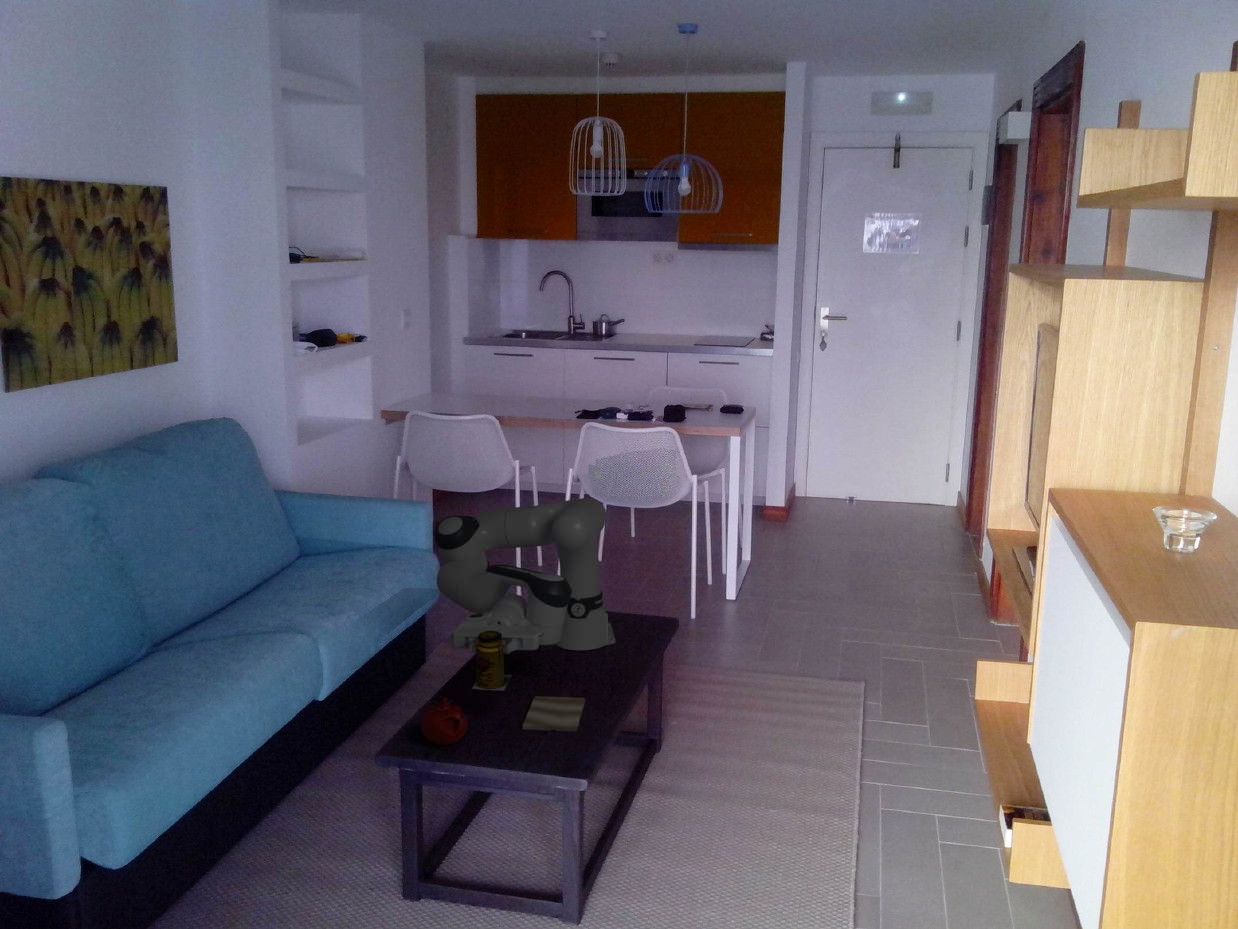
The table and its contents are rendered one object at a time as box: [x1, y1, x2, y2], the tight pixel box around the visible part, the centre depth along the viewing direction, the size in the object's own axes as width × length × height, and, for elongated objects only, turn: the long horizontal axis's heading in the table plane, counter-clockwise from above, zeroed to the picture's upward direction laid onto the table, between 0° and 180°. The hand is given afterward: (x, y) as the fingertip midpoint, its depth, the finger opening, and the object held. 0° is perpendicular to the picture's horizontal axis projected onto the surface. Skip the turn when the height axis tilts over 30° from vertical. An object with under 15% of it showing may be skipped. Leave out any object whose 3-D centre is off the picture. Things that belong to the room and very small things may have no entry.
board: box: [522, 695, 586, 732], centre depth 239 cm, size 16×12×1 cm
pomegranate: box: [420, 697, 468, 746], centre depth 227 cm, size 10×10×9 cm
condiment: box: [471, 631, 512, 691], centre depth 236 cm, size 7×8×12 cm
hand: (489, 650), depth 234 cm, fingers closed on condiment, 6 cm apart
